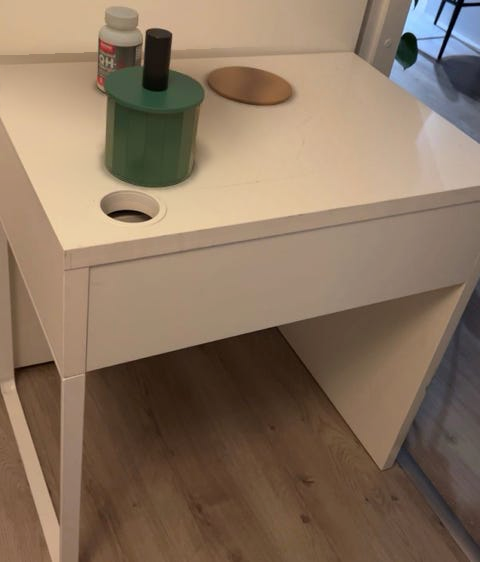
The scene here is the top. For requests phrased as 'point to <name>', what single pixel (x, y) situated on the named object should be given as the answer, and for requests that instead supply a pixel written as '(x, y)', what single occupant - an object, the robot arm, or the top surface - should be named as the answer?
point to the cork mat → (249, 85)
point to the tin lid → (154, 80)
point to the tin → (149, 145)
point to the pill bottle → (118, 42)
